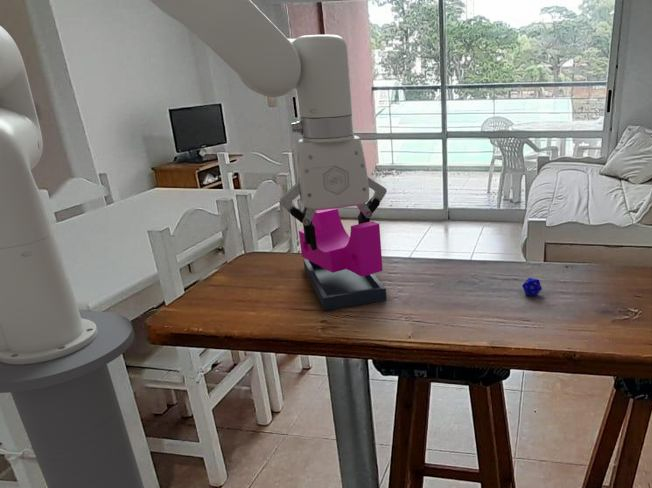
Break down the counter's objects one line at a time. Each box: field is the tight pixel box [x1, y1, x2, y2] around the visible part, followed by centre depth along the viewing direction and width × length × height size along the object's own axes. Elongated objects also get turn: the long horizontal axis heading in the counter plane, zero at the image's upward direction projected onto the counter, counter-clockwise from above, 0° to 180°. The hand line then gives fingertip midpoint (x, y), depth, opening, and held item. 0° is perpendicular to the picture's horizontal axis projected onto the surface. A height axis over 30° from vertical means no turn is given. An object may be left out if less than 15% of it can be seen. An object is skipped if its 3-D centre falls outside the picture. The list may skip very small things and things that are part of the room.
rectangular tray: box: [303, 258, 387, 311], centre depth 93 cm, size 10×19×2 cm, turn 19°
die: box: [521, 277, 543, 297], centre depth 87 cm, size 3×3×3 cm
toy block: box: [298, 208, 384, 277], centre depth 91 cm, size 15×6×8 cm, turn 37°
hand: (338, 243), depth 91 cm, fingers closed on toy block, 7 cm apart
